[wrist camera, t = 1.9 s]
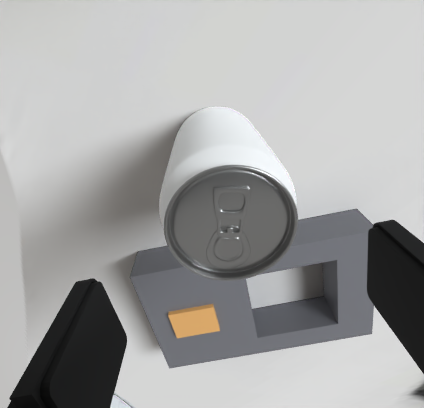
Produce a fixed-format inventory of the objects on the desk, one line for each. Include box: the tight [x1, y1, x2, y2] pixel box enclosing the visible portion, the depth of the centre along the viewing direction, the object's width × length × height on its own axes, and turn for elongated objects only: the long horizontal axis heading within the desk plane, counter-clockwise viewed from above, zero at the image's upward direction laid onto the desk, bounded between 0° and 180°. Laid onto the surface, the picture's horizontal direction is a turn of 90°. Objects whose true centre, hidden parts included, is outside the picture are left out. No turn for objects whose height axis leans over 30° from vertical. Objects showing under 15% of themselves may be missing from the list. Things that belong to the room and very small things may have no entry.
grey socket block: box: [130, 209, 374, 368], centre depth 27 cm, size 12×20×4 cm, turn 102°
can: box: [159, 106, 298, 281], centre depth 18 cm, size 6×6×12 cm
